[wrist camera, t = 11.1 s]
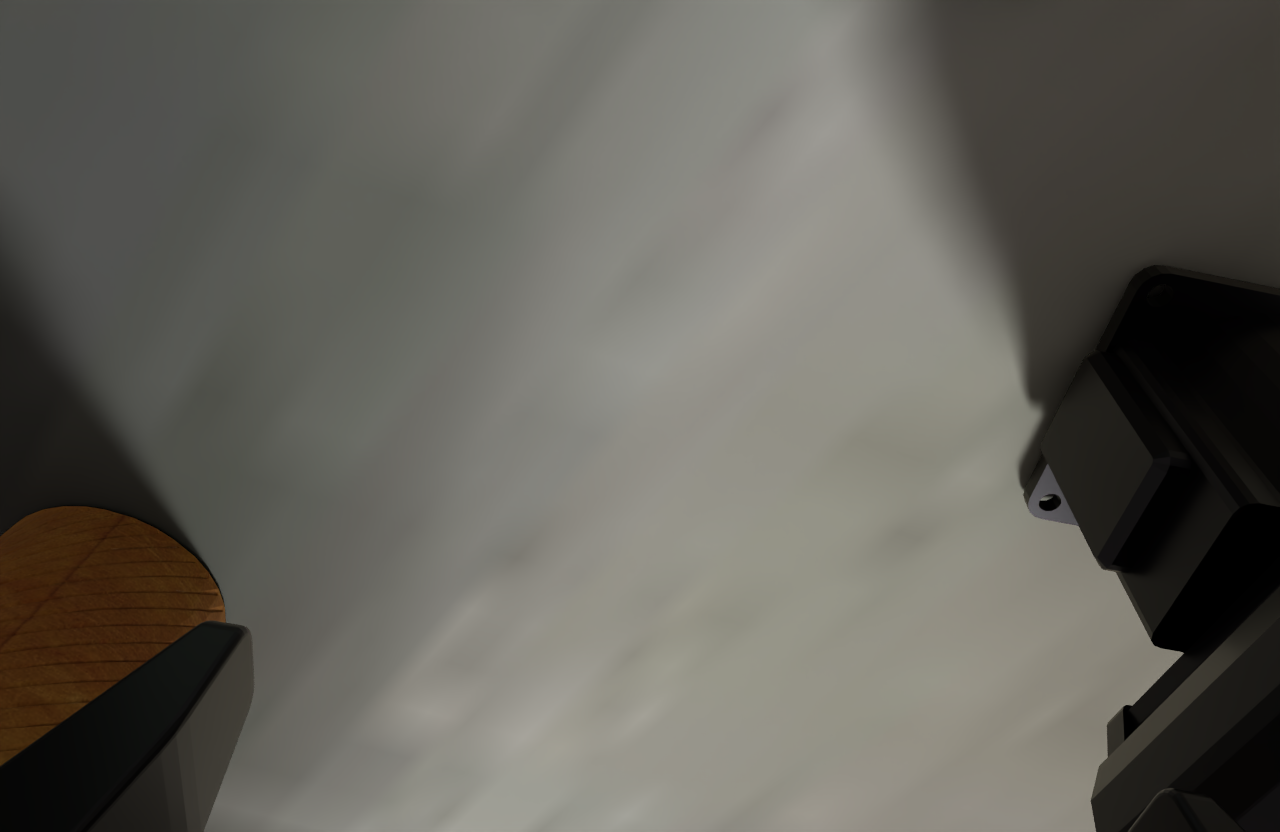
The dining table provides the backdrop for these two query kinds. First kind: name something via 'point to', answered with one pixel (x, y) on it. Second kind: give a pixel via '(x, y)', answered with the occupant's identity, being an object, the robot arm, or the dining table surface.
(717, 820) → the dining table surface
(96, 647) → the disposable coffee cup
